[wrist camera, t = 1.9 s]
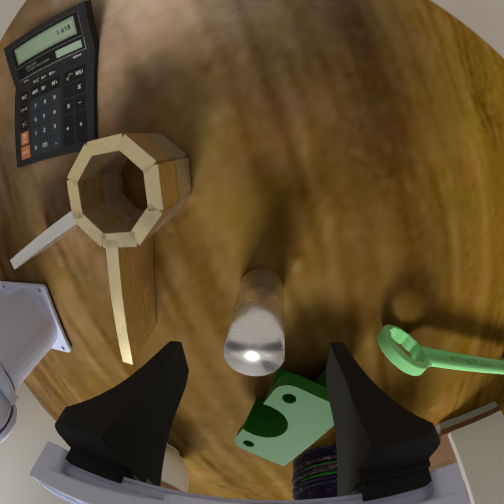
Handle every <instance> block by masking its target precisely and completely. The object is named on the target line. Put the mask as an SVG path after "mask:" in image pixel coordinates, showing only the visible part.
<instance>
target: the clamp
mask: <svg viewBox="0 0 504 504" xmlns="http://www.w3.org/2000/svg"><path fill="white" fill-rule="evenodd" d="M332 426H334V421H333V417H332V412H331V407H330V402H329V397H328V392H327V384H326V369H325V370H324V371H323V372H322V374H321V375H320V376H319V377H318V378H317V380H316V381H315V382H313V381H310V380H308V379H306V378H304V377H302V376H300V375H296V374H293V373H291V372H289V371H287V370H285V369H283V368H280V367H279V369H278V370H277V371H276V374H275V376H274V379H273V381H272V384H271V386H270V389H269V391H268V393H267V396H266V398H265V401H263V400H261V399H259V398H257V399H256V400H255V402H254V404H253V407H252V409H251V411H250V413H249V415H248V417H247V420H246V421H245V423H244V424H243V425H242V426H241V428H240V429H239V431H238V434H237V436H236V438H235V443H236V444H237V445H238V446H239V447H241V448H242V449H244V450H246V451H249V452H251V453H253V454H255V455H258V456H260V457H262V458H265V459H267V460H269V461H272V462H274V463H277V464H279V465H282V466H285V465H286V464H288V463H289V462H290V461H292V460H293V459H294V458H295V457H297V456H298V455H299V454H301V453H302V452H303V451H304V450H306V449H307V448H308V447H309V446H310V445H312V444H313V443H314V442H315V441H316V440H318V439H319V438H320V437H321V436H322V435H323V434H325V433H326V432H327V431H328V430H329V429H330V428H331V427H332Z"/></svg>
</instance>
